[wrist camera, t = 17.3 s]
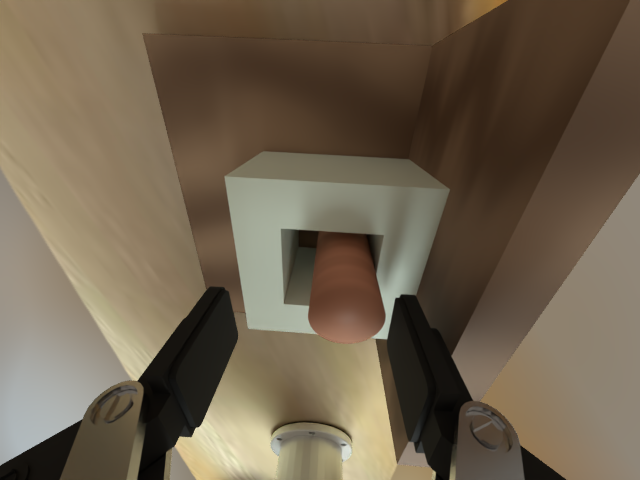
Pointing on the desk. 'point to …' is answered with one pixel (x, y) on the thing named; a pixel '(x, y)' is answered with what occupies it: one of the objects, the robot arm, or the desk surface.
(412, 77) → the brown wooden stand
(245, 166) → the sage block
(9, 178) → the desk surface
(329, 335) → the dowel
